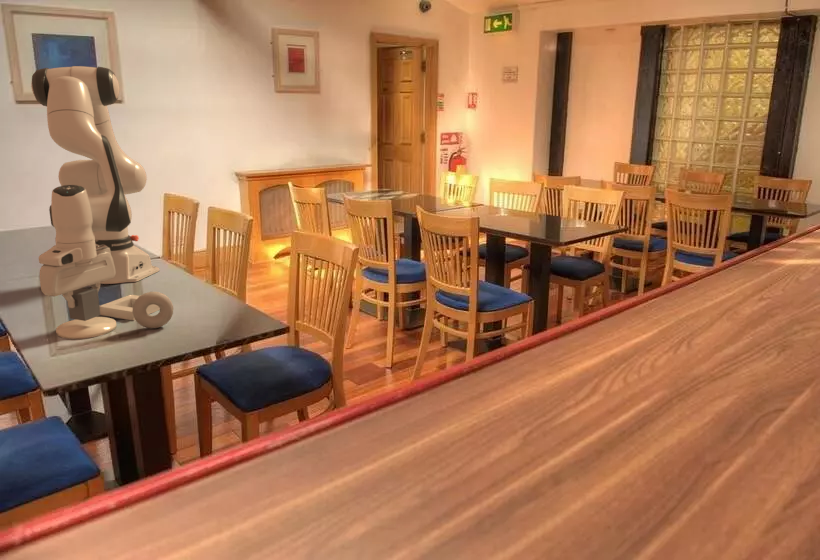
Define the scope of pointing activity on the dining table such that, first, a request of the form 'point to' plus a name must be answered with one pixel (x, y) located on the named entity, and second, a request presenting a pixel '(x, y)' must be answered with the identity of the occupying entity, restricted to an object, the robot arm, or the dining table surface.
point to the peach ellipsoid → (86, 328)
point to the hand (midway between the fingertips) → (83, 303)
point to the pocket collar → (124, 308)
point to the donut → (150, 299)
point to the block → (85, 304)
